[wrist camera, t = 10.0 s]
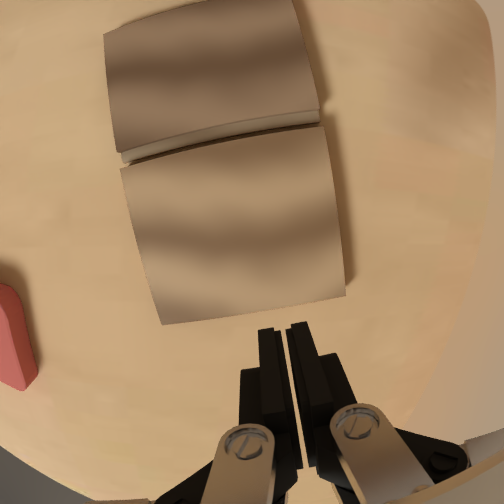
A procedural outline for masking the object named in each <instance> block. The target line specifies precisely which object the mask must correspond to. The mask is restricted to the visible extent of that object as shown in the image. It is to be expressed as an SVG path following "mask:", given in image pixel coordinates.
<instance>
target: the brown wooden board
mask: <svg viewBox="0 0 504 504" xmlns="http://www.w3.org/2000/svg"><path fill="white" fill-rule="evenodd" d="M103 35H104V52H105V65H106V77H107V86H108V95H109V104H110V111H111V119H112V125H113V132H114V138H115V144H116V150H117V152H119V153H121V156H122V161H123V163H128V162H131V161H135V160H138V159H142V158H145V157H148V156H152V155H156V154H159V153H163V152H167V151H171V150H175V149H178V148H182V147H187V146H191V145H195V144H199V143H204V142H208V141H213V140H217V139H222V138H227V137H232V136H237V135H242V134H247V133H253V132H259V131H265V130H271V129H277V128H283V127H290V126H297V125H305V124H313V123H319V122H320V117H319V112H318V110H319V109H320V105H319V101H318V96H317V92H316V87H315V83H314V79H313V75H312V71H311V67H310V63H309V59H308V55H307V51H306V47H305V43H304V40H303V36H302V33H301V29H300V26H299V22H298V19H297V15H296V12H295V9H294V6H293V2H292V0H209V1H204V2H200V3H196V4H192V5H188V6H184V7H180V8H176V9H173V10H169V11H166V12H163V13H159V14H156V15H153V16H150V17H147V18H144V19H141V20H138V21H136V22H133V23H130V24H128V25H125V26H122V27H120V28H117V29H115V30H112V31H110V32H108V33H105V34H103Z"/></svg>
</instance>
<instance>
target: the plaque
mask: <svg viewBox="0 0 504 504" xmlns="http://www.w3.org/2000/svg"><path fill="white" fill-rule="evenodd" d="M37 375H38V371H37V366H36V363H35V359H34V356H33V352H32V348H31V344H30V340H29V335H28V331H27V326H26V322H25V317H24V311H23V307H22V303H21V300H20V298H19V297H18V295H17V293H16V292H15V291H14V290H13V289H12V288H11V287H10V286H7V285H4V284H1V283H0V381H1V382H3V383H5V384H7V385H9V386H11V387H13V388H15V389H17V390H19V391H24V390H26V388H27V387H28V386H29V385H30V384H31V383H32V382H33V380H34V379H35V378H36V377H37Z"/></svg>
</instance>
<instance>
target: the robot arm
mask: <svg viewBox="0 0 504 504" xmlns="http://www.w3.org/2000/svg"><path fill="white" fill-rule="evenodd" d="M286 336H287V342H288V348H289V355H290V361H291V367H292V374H293V380H294V387H295V393H296V398H297V404H298V409H299V414H300V420H301V425H302V431H303V436H304V442H305V447H306V453H307V459H308V464H309V467H314V466H316V470H317V475H318V474H319V477H320V478H323V479H325V480H327V481H329V482H331V485H332V488H333V491H334V493H335V495H336V497H337V500H338V502H339V504H504V428H503V429H500V430H497V431H495V432H491V433H488V434H485V435H482V436H479V437H475V438H472V439H468V440H465V441H464V444H461V445H456V444H454V443H451V442H447V441H443V440H438V439H434V438H430V437H427V436H423V435H419V434H415V433H412V432H408V431H405V430H401V429H398V428H394V427H393V426H392V424H391V423H390V422H389V420H388V419H387V418H386V416H385V415H384V413H383V412H382V411H381V410H380V409H379V408H377V407H375V406H373V405H370V404H364V403H359V404H358V403H357V401H356V398H355V396H354V394H353V391H352V389H351V386H350V384H349V381H348V379H347V377H346V374H345V372H344V370H343V367H342V365H341V362H340V360H339V358H338V356H337V354H336V353H331V354H327V355H322V356H318V353H317V350H316V347H315V344H314V341H313V338H312V335H311V332H310V329H309V327H308V324H307V321H305V322H299V323H294V324H291V328H290V329H286ZM258 343H259V362H260V367H257V368H250V369H243V370H241V374H240V402H239V426H236V427H233V428H232V429H230V430H228V431H227V432H226V433H225V434H224V435H223V436H222V437H221V439H220V441H219V443H218V447H217V450H216V454H215V457H214V460H212V461H211V462H210V463H208V464H207V465H206V466H204V467H203V468H202V469H200V470H199V471H197V472H196V473H194V474H193V475H192V476H190V477H189V478H187V479H186V480H184V481H183V482H181V483H180V484H178V485H177V486H175V487H174V488H172V489H171V490H169V491H168V492H166V493H165V494H163V495H162V496H160V497H159V498H158V499H157V500H155V501H149V500H148V499H147V498H146V499H133V500H110V501H88V502H85V503H84V504H287V503H288V490H289V489H290V488H291V487H292V486H293V485H294V484H295V483H296V482H297V478H298V476H297V470H298V469H303V462H302V456H301V449H300V443H299V436H298V430H297V423H296V417H295V411H294V405H293V399H292V393H291V387H290V382H289V376H288V370H287V364H286V359H285V353H284V347H283V342H282V336H281V331H280V330H279V331H274V327H272V328H267V329H261V330H258Z"/></svg>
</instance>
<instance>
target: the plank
mask: <svg viewBox="0 0 504 504" xmlns="http://www.w3.org/2000/svg"><path fill="white" fill-rule="evenodd" d="M120 172H121V177H122V182H123V187H124V191H125V196H126V200H127V205H128V209H129V213H130V218H131V222H132V226H133V230H134V234H135V238H136V241H137V245H138V249H139V253H140V256H141V260H142V263H143V267H144V270H145V274H146V277H147V280H148V284H149V287H150V290H151V294H152V297H153V300H154V303H155V306H156V309H157V312H158V315H159V318H160V321H161V324H162V325H168V324H177V323H185V322H193V321H200V320H208V319H215V318H222V317H229V316H235V315H242V314H248V313H255V312H261V311H267V310H273V309H279V308H285V307H290V306H296V305H301V304H307V303H312V302H317V301H323V300H328V299H333V298H338V297H343V296H346V289H345V276H344V265H343V254H342V245H341V236H340V227H339V219H338V211H337V203H336V196H335V189H334V183H333V176H332V170H331V164H330V158H329V152H328V146H327V141H326V135H325V130H324V126H321V127H312V128H305V129H297V130H290V131H283V132H277V133H271V134H265V135H259V136H253V137H248V138H242V139H237V140H232V141H227V142H222V143H217V144H213V145H208V146H204V147H199V148H195V149H191V150H187V151H183V152H178V153H175V154H171V155H167V156H163V157H159V158H155V159H152V160H148V161H145V162H141V163H138V164H134V165H131V166H128V167H124V168H121V169H120Z"/></svg>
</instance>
